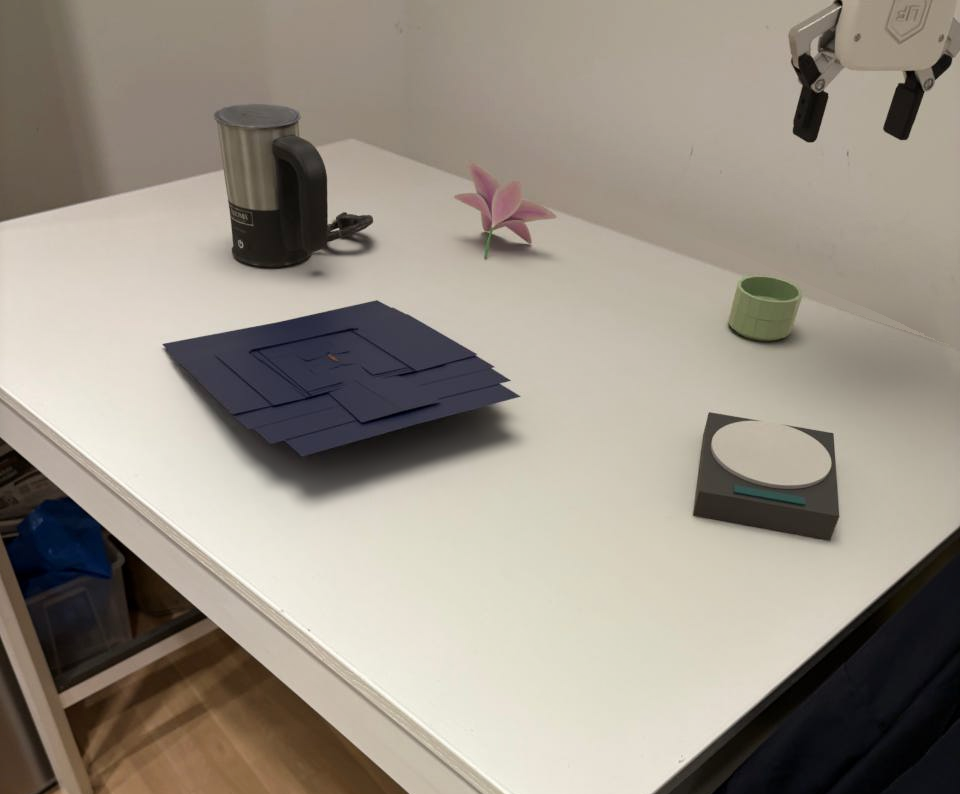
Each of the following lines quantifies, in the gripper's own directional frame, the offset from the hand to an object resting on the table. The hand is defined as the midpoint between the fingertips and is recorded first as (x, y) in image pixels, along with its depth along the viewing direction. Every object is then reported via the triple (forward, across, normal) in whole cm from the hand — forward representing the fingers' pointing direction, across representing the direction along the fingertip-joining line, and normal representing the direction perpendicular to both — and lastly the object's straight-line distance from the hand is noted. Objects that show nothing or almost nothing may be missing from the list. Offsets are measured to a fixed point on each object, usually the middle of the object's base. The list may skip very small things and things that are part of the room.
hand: (849, 136), depth 86 cm
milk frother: (+21, -47, +33) cm, 61 cm away
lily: (+21, -23, +30) cm, 43 cm away
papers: (+21, -48, -1) cm, 53 cm away
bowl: (+20, -1, +4) cm, 21 cm away
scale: (+20, -16, -24) cm, 35 cm away
